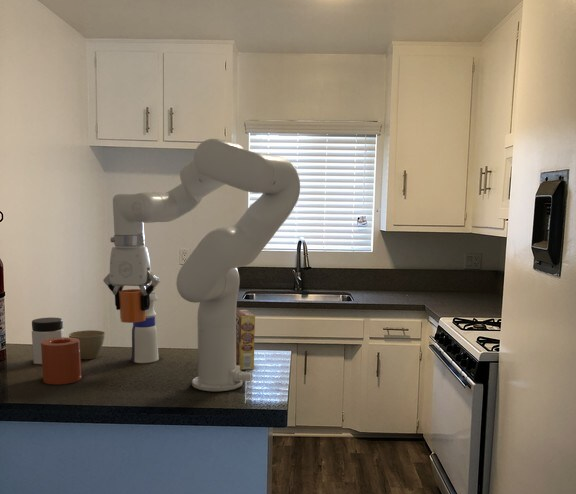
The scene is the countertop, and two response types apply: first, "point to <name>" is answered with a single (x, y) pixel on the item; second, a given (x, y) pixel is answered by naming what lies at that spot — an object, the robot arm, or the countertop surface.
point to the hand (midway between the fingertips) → (132, 308)
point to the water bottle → (145, 336)
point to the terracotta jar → (61, 360)
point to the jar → (44, 334)
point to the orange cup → (131, 306)
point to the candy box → (245, 339)
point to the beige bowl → (89, 342)
